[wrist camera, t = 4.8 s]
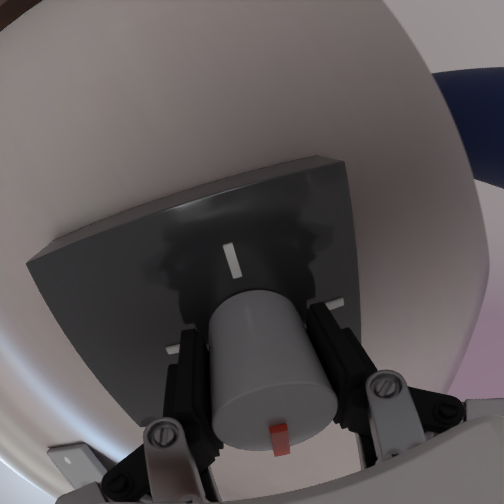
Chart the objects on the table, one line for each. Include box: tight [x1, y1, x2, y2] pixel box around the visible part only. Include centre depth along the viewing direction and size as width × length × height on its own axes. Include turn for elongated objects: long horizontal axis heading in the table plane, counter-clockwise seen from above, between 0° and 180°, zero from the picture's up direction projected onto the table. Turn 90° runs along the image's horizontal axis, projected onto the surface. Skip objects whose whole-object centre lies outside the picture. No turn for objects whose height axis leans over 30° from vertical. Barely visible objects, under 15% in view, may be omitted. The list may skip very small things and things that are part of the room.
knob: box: [208, 290, 339, 457], centre depth 10 cm, size 4×4×5 cm
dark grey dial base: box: [26, 155, 361, 427], centre depth 13 cm, size 14×12×3 cm
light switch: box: [46, 443, 107, 490], centre depth 20 cm, size 8×6×14 cm
